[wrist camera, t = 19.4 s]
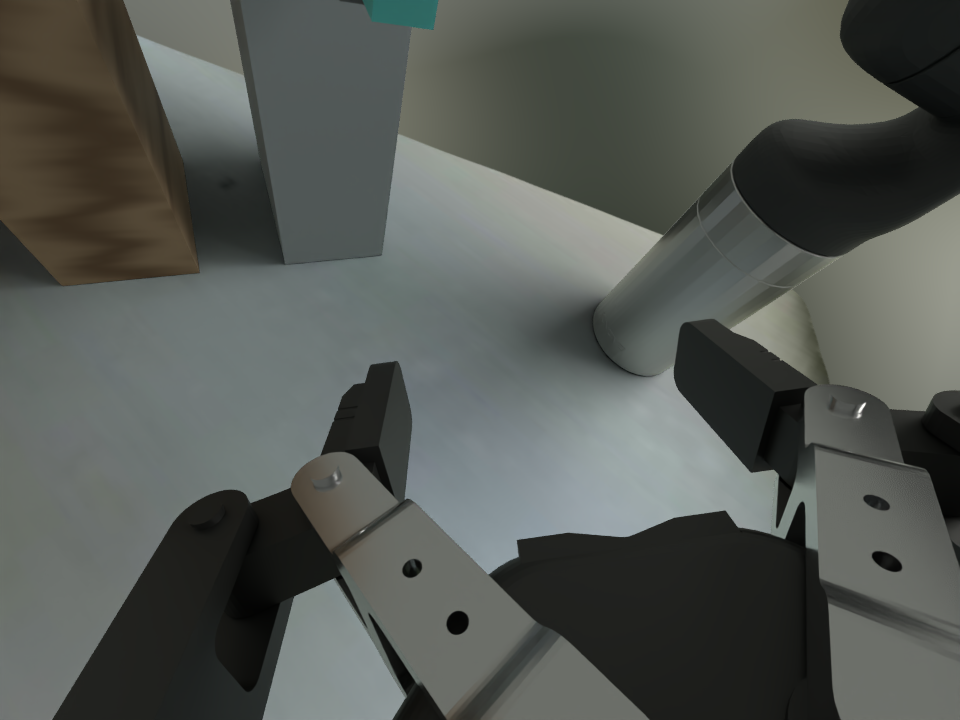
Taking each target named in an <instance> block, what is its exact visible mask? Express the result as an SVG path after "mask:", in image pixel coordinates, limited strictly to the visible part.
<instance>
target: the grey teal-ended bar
mask: <svg viewBox="0 0 960 720" xmlns="http://www.w3.org/2000/svg"><path fill="white" fill-rule="evenodd" d="M339 1H343V2H349V3H356V4H362V5H365V7H366V10H367V12H368V14H369V16H370V19H371V21H372V22H379V23H387V24H394V25H401V26H409V27H416V28H423V29H431V30H433V28H434V22H435V17H436V11H437V4H438V0H339Z"/></svg>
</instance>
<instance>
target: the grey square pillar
mask: <svg viewBox="0 0 960 720" xmlns="http://www.w3.org/2000/svg"><path fill="white" fill-rule="evenodd" d="M230 1H231V7H232V12H233V17H234V23H235V29H236V34H237V39H238V45H239V50H240V55H241V60H242V66H243V71H244V77H245V82H246V87H247V93H248V98H249V103H250V109H251V114H252V119H253V125H254V130H255V135H256V141H257V146H258V151H259V157H260V162H261V166H262V170H263V174H264V178H265V183H266V187H267V191H268V195H269V199H270V203H271V207H272V212H273V216H274V220H275V224H276V228H277V232H278V236H279V241H280V245H281V249H282V253H283V257H284V261H285V264H296V263H306V262H316V261H327V260H337V259H347V258H358V257H368V256H379V255H382V250H383V242H384V235H385V227H386V219H387V212H388V204H389V196H390V189H391V181H392V173H393V166H394V158H395V150H396V143H397V135H398V127H399V120H400V112H401V104H402V96H403V89H404V81H405V74H406V65H407V57H408V50H409V43H410V35H411V27H409V26H401V25H394V24H387V23H379V22H372V21H371V19H370V16H369V14H368V12H367V10H366V7H365V5H362V4H356V3H349V2H343V1H339V0H230Z"/></svg>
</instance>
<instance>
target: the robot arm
mask: <svg viewBox="0 0 960 720" xmlns="http://www.w3.org/2000/svg"><path fill="white" fill-rule="evenodd" d="M840 39H841V42H842V45H843V48H844V49H845V51H846V52H847V54H848V55H849V56H850V58H851V59H852V60H853V61H854V62H855V63H856V64H857V65H859V66H860V67H861V68H862V69H863V70H864V71H866V72H867V73H868V74H870V75H871V76H873V77H874V78H876V79H877V80H878V81H880V82H882V83H883V84H884V85H886V86H887V87H889V88H891V89H892V90H894V91H895V92H897V93H898V94H900V95H901V96H903V97H905V98H906V99H908V100H909V101H911V102H913V103H914V104H916V105H917V106H919V107H918V108H917V109H915V110H913V111H912V112H910V113H908V114H906V115H904V116H901V117H899V118H896V119H893V120H889V121H885V122H878V123H870V124H859V125H858V124H856V125H845V124H832V123H823V122H817V121H807V120H800V119H789V120H782V121H779V122H776V123H773V124H771V125H770V126H768V127H767V128H765V129H764V130H763V131H762V132H760V134H758V135H757V136H756V137H755V138H754V139H753V140H752V141H751V142H750V143H749V144H748V145H747V146H746V148H745V149H744V150H743V151H742V152H741V153H740V154H739V155H738V156H737V157H736V158H735V159H734V161H733V162H732V163H731V164H730V165H729V166H728V167H727V168H726V169H725V170H724V171H723V172H722V173H721V174H720V175H719V177H718V178H717V179H716V180H715V181H714V182H713V183H712V184H711V185H710V186H709V187H708V188H707V189H706V191H704V193H703V194H702V195H701V196H700V197H699V198H698V199H697V200H696V201H695V203H694V204H693V205H692V206H691V207H690V208H689V209H688V210H687V211H686V212H685V213H684V214H683V215H682V216H681V218H679V220H678V221H677V222H676V223H675V224H674V225H673V226H672V227H671V228H670V229H669V230H668V231H667V232H666V234H664V236H663V237H662V238H661V239H660V240H659V241H658V242H657V243H656V244H655V245H654V246H653V247H652V248H651V249H650V251H649V252H648V253H647V254H646V255H645V256H644V257H643V258H642V259H641V260H640V261H639V262H638V263H637V264H636V265H635V267H634V268H633V269H632V270H631V271H630V272H629V273H628V274H627V275H626V276H625V277H624V278H623V279H622V280H621V281H620V282H619V283H618V284H617V286H616V287H615V288H614V289H613V290H612V291H611V292H610V293H609V294H608V295H607V296H606V297H605V298H604V299H603V301H602V302H601V303H600V304H599V305H598V306H597V308H596V310H595V312H594V316H593V327H594V332H595V335H596V338H597V340H598V342H599V344H600V346H601V347H602V349H603V350H604V352H605V353H606V354H607V355H608V356H609V357H610V359H612V360H613V361H614V362H615V363H616V364H618V365H619V366H620V367H622V368H624V369H625V370H627V371H629V372H632V373H634V374H637V375H643V376H654V375H658V374H661V373H662V372H664V371H665V370H667V369H669V368H670V367H672V366H673V365H674V379H675V383H676V386H677V388H678V390H679V391H680V393H681V394H682V395H683V396H684V397H685V398H686V399H687V400H688V402H689V403H690V404H691V405H692V406H693V407H694V408H695V410H696V411H697V412H698V413H699V414H700V415H701V416H702V418H703V419H704V420H705V421H706V422H707V423H708V424H709V425H710V427H711V428H712V429H713V430H714V431H715V432H716V433H717V435H718V436H719V437H720V438H721V439H722V440H723V441H724V442H725V444H726V445H727V446H728V447H729V448H730V449H731V450H732V452H733V453H734V454H735V455H736V456H737V457H738V458H739V460H740V461H741V462H742V463H743V464H744V465H745V466H746V467H747V469H748V470H749V471H750V472H751V473H753V472H760V471H767V470H775V471H776V472H777V473H778V474H777V477H776V480H775V483H774V490H773V505H772V520H771V534H768V533H764V532H760V531H756V530H750V529H745V528H738V527H737V526H736V524H735V523H734V522H733V520H732V519H731V518H730V516H729V515H728V513H727V512H726V511H719V512H712V513H705V514H698V515H691V516H684V517H677V518H673V519H670V520H668V521H666V522H663V523H661V524H658V525H656V526H654V527H651V528H649V529H647V530H644V531H642V532H639V533H637V534H635V535H632V536H629V537H612V536H600V535H589V534H577V533H563V534H556V535H549V536H542V537H535V538H528V539H521V540H517V545H518V554H519V557H517V558H515V559H513V560H510V561H508V562H507V563H505V564H503V565H502V566H500V567H498V568H497V569H496V570H494V571H493V572H492V573H490V574H489V575H488V574H487V573H486V572H485V571H484V570H483V569H482V568H481V567H480V566H479V565H478V564H477V563H476V562H475V561H474V560H473V559H472V558H471V557H470V556H469V555H468V554H467V553H466V552H465V551H464V550H463V549H462V548H461V547H460V546H459V545H457V544H456V543H455V542H454V541H453V540H452V539H451V538H450V537H449V536H448V535H447V534H446V533H445V532H444V531H443V530H442V529H441V528H440V527H439V526H438V525H437V524H436V523H435V522H434V521H433V520H432V519H431V518H430V517H429V516H428V515H427V514H426V513H425V512H424V511H423V510H422V509H421V508H420V507H419V506H418V505H417V504H416V503H415V502H413V501H412V500H410V499H406V500H404V498H405V488H406V479H407V469H408V460H409V450H410V441H411V431H412V416H411V409H410V404H409V400H408V396H407V392H406V388H405V384H404V380H403V376H402V372H401V368H400V365H399V363H398V361H394V362H387V363H379V364H372V365H370V368H369V371H368V374H367V378H366V381H365V383H361V384H354V385H353V386H352V387H351V388H350V389H349V390H348V391H347V392H346V393H345V394H344V395H343V396H342V399H341V402H340V405H339V407H338V411H337V413H336V415H335V418H334V422H333V423H332V426H331V429H330V431H329V434H328V437H327V439H326V442H325V445H324V447H323V450H322V453H321V456H319V457H317V458H315V459H313V460H311V461H310V462H308V463H307V464H306V465H304V466H303V467H302V468H301V469H300V470H299V471H298V472H297V473H296V475H295V476H294V478H293V480H292V483H291V488H289V489H287V490H284V491H282V492H279V493H277V494H274V495H271V496H269V497H266V498H263V499H261V500H258V501H255V502H253V503H250V502H249V500H248V498H247V496H246V495H245V494H244V493H243V492H241V491H238V490H223V491H219V492H216V493H213V494H210V495H208V496H206V497H204V498H202V499H200V500H198V501H196V502H195V503H193V504H192V505H190V506H189V507H188V508H187V509H185V510H184V511H183V512H182V513H181V514H180V515H179V516H178V517H177V518H176V520H175V521H174V522H173V524H172V525H171V527H170V528H169V530H168V532H167V533H166V535H165V537H164V538H163V540H162V542H161V543H160V545H159V546H158V548H157V550H156V551H155V553H154V555H153V556H152V558H151V559H150V561H149V563H148V564H147V566H146V568H145V569H144V571H143V573H142V574H141V576H140V577H139V579H138V581H137V582H136V584H135V586H134V587H133V589H132V590H131V592H130V594H129V595H128V597H127V599H126V600H125V602H124V604H123V605H122V607H121V608H120V610H119V612H118V613H117V615H116V617H115V618H114V620H113V621H112V623H111V625H110V626H109V628H108V630H107V631H106V633H105V635H104V636H103V638H102V639H101V641H100V643H99V644H98V646H97V648H96V649H95V651H94V653H93V654H92V656H91V657H90V659H89V661H88V662H87V664H86V666H85V667H84V669H83V670H82V672H81V674H80V675H79V677H78V679H77V680H76V682H75V684H74V685H73V687H72V688H71V690H70V692H69V693H68V695H67V697H66V698H65V700H64V701H63V703H62V705H61V706H60V708H59V710H58V711H57V713H56V715H55V716H54V718H53V719H52V720H262V719H263V715H264V711H265V707H266V703H267V699H268V695H269V691H270V688H271V684H272V680H273V676H274V672H275V668H276V664H277V660H278V657H279V653H280V649H281V645H282V641H283V637H284V633H285V629H286V626H287V622H288V618H289V614H290V610H291V606H292V602H293V599H294V596H296V595H298V594H300V593H303V592H305V591H307V590H309V589H311V588H314V587H316V586H318V585H320V584H322V583H325V582H327V581H329V580H331V579H334V580H335V582H336V583H337V585H338V586H339V588H340V590H341V591H342V593H343V594H344V596H345V598H346V599H347V601H348V602H349V604H350V606H351V607H352V609H353V610H354V612H355V614H356V615H357V617H358V619H359V620H360V622H361V623H362V625H363V627H364V628H365V630H366V631H367V633H368V635H369V636H370V638H371V640H372V641H373V643H374V645H375V646H376V648H377V650H378V652H379V654H380V656H381V657H382V659H383V661H384V663H385V665H386V666H387V668H388V670H389V672H390V673H391V675H392V677H393V678H394V680H395V682H396V683H397V685H398V687H399V688H400V690H401V692H402V693H403V695H404V696H405V700H404V702H403V703H402V705H401V707H400V708H399V710H398V712H397V713H396V715H395V716H394V718H393V720H960V391H943V392H940V393H937V394H936V395H934V397H933V398H932V400H931V402H930V404H929V406H928V408H927V410H926V411H909V410H907V411H906V410H892V409H889V408H888V407H887V405H886V404H885V403H884V402H882V401H881V400H880V399H878V398H876V397H875V396H873V395H871V394H868V393H866V392H864V391H861V390H858V389H855V388H851V387H847V386H841V385H831V384H824V385H817V384H816V383H814V382H813V381H812V380H810V379H809V378H807V377H806V376H804V375H803V374H801V373H800V372H799V371H797V370H796V369H794V368H793V367H791V366H790V365H789V364H787V363H786V362H784V361H783V360H782V361H780V358H779V357H777V356H776V355H774V354H773V353H771V352H768V350H767V349H766V348H764V347H763V346H761V345H760V344H758V343H757V342H756V341H754V340H752V339H749V338H747V337H744V336H741V335H739V334H736V333H733V332H732V331H731V330H729V329H731V328H732V327H734V326H736V325H737V324H739V323H740V322H742V321H743V320H745V319H746V318H748V317H749V316H751V315H753V314H754V313H756V312H757V311H759V310H760V309H762V308H763V307H765V306H766V305H768V304H770V303H771V302H773V301H774V300H776V299H777V298H779V297H780V296H782V295H783V294H785V293H787V292H788V291H790V290H791V289H793V288H794V287H796V286H797V285H799V284H800V283H802V282H803V281H805V280H806V279H808V278H809V277H811V276H812V275H814V274H815V273H817V272H818V271H820V270H822V269H823V268H825V267H826V266H828V265H829V264H831V263H832V262H834V261H835V260H837V259H838V258H840V257H842V256H843V255H844V254H846V253H848V252H849V251H851V250H852V249H854V248H855V247H857V246H859V245H860V244H862V243H864V242H865V241H867V240H869V239H872V238H874V237H877V236H880V235H883V234H886V233H888V232H891V231H893V230H896V229H898V228H900V227H902V226H905V225H906V224H909V223H910V222H912V221H914V220H916V219H918V218H920V217H921V216H923V215H925V214H926V213H928V212H930V211H932V210H933V209H935V208H937V207H938V206H940V205H942V204H943V203H945V202H947V201H948V200H950V199H952V198H953V197H955V196H957V195H958V194H960V0H849V2H848V4H847V7H846V9H845V12H844V14H843V17H842V21H841V30H840Z"/></svg>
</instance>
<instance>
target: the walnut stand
mask: <svg viewBox="0 0 960 720" xmlns="http://www.w3.org/2000/svg"><path fill="white" fill-rule="evenodd" d="M0 220H1V221H2V222H3V223H4V224H5V225H6V226H7V228H8V229H9V230H10V231H11V232H12V233H13V234H14V235H15V236H16V237H17V238H18V239H19V240H20V241H21V242H22V244H23V245H24V246H25V247H26V248H27V249H28V250H29V251H30V252H31V253H32V254H33V255H34V256H35V257H36V259H37V260H38V261H39V262H40V263H41V264H42V265H43V266H44V267H45V268H46V269H47V270H48V271H49V272H50V273H51V275H52V276H53V277H54V278H55V279H56V280H57V281H58V282H59V283H60V284H61V285H62V286H68V285H78V284H88V283H99V282H109V281H119V280H130V279H140V278H151V277H161V276H171V275H182V274H192V273H200V272H199V265H198V259H197V252H196V245H195V238H194V232H193V225H192V218H191V212H190V205H189V198H188V191H187V185H186V178H185V171H184V165H183V160H182V157H181V155H180V152H179V149H178V147H177V144H176V141H175V139H174V136H173V133H172V130H171V128H170V125H169V122H168V120H167V117H166V114H165V112H164V109H163V106H162V104H161V101H160V98H159V95H158V93H157V90H156V87H155V85H154V82H153V79H152V77H151V74H150V71H149V69H148V66H147V63H146V60H145V58H144V55H143V52H142V50H141V47H140V44H139V42H138V39H137V36H136V34H135V31H134V28H133V26H132V23H131V20H130V18H129V15H128V12H127V9H126V7H125V4H124V1H123V0H0Z"/></svg>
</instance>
